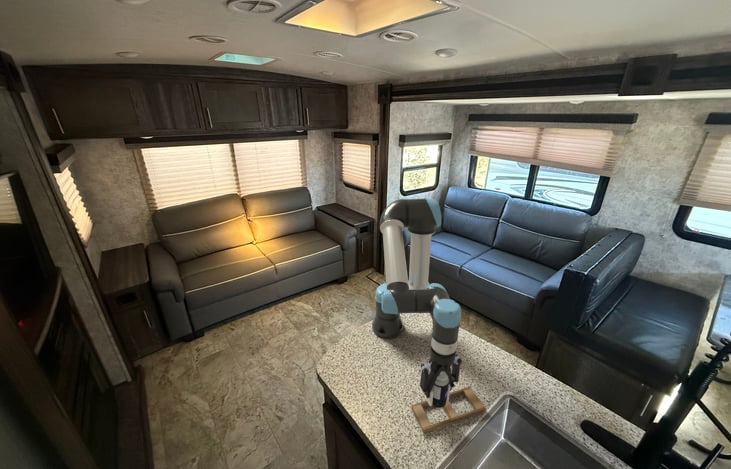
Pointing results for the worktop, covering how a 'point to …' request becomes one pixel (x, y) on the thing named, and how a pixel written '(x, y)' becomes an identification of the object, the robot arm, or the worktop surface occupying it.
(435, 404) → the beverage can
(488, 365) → the worktop surface
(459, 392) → the wooden frame
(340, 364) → the worktop surface
